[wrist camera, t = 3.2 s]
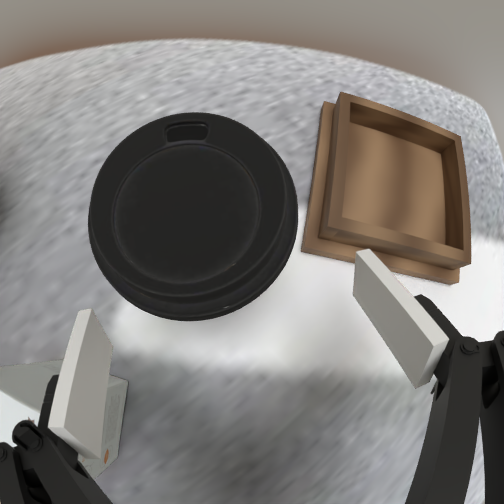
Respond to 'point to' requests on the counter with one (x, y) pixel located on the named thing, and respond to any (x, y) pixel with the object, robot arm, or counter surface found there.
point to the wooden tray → (388, 191)
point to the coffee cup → (192, 217)
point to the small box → (31, 399)
